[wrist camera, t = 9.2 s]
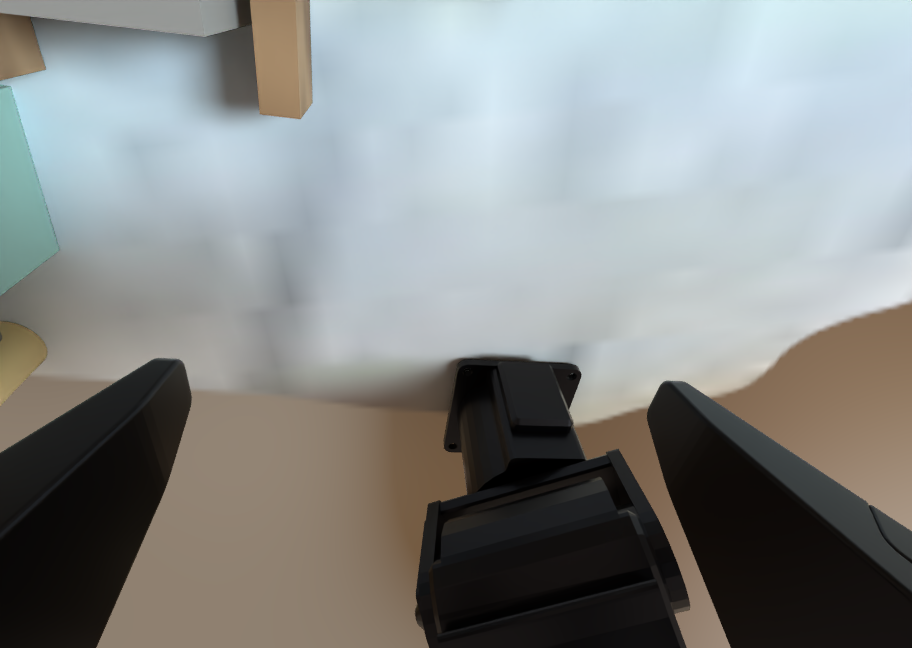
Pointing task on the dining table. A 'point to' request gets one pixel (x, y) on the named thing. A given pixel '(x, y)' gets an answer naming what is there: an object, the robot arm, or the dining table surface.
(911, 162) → the dining table surface
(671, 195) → the dining table surface
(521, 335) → the dining table surface
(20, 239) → the teal cube mallet
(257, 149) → the dining table surface
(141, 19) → the slate block
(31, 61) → the shelf
